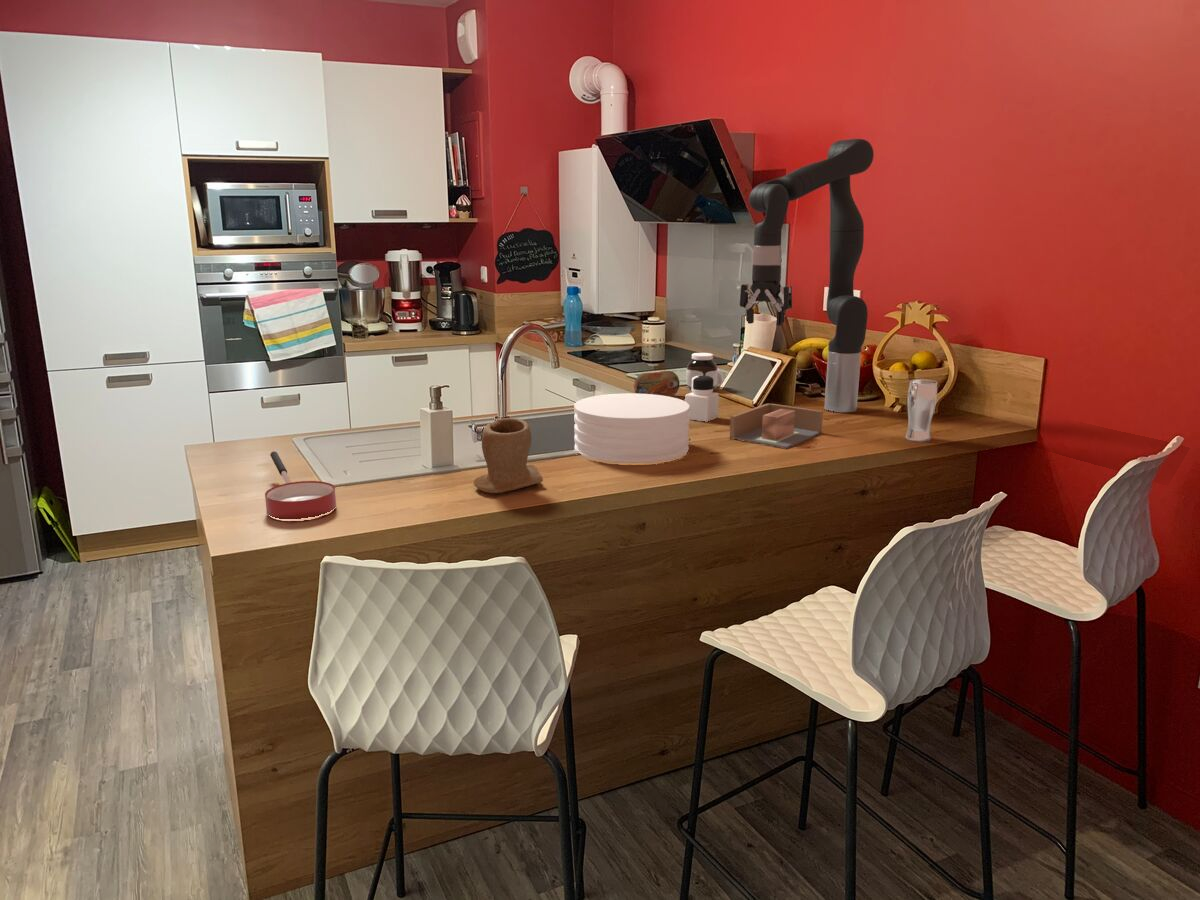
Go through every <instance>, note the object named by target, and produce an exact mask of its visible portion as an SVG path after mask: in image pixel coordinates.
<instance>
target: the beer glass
mask: <svg viewBox="0 0 1200 900" xmlns="http://www.w3.org/2000/svg"><path fill="white" fill-rule="evenodd" d="M908 385H909V386H908V390H907V400H906V401H907V402H906V403H907V406H906V407H907V418H908V419H907V420H908V423H907V424H908V426H907V431H906V434H905V439H906V440H908V441H911V442H923V443H924V442H930V441H931V439H932V437H931V423H932V419H933V416H934V412H935V409H936V404H937V398H938V397H937V396H938V382H937V381H936V380H931V379H926V378H925V379H924V378H917V379H911V380H909V384H908Z"/></svg>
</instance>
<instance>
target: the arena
mask: <svg viewBox="0 0 1200 900" xmlns="http://www.w3.org/2000/svg"><path fill="white" fill-rule="evenodd" d="M779 409H787V410H794V411H795V422H794V433H793V434H791V435H788V436H786V437H784V438H781V439H779V440H777V441H774V440H768V439H762V421H763V415H765V414H768V413H771V412H773V411H776V410H779ZM823 413H824V411H823V410H819V409H818V410H817V409H809V408H805V407H804V408H803V407H799V406H798V407H795V406H790V405H784V404H783V405H782V404H778V403H777V404H776V403H770V402H767V403H764V404H762V405H759V406H756V407H753V408H750V409H747V410H744V411H742V412H738V413H735V414H733V415H730V425H729V439H730V438H734V439H739V440H744V441H743V442H745V441H750V442H755V443H754V444H756V443H760V444H759V445H761V444H765V445H764V446H767V445H772V446H771V447H773V446H778V447H783V448H782V449H784V448H787V449H789V448H791V447H790V446H792V445H794V446H796V445H798V444H800V443H799V442H801V443H803V442H805V441H807V440H810V439H812V438H814V437H816V435H817V436H819V435H821V434H822V433H823V431H822V428H823V415H824V414H823ZM820 433H821V434H820ZM818 434H819V435H818ZM813 436H814V437H813ZM811 437H812V438H811ZM809 438H810V439H809ZM806 439H807V440H806ZM739 440H738V441H739ZM804 440H805V441H804ZM802 441H803V442H802ZM750 442H749V443H750ZM797 443H798V444H797ZM795 444H796V445H795ZM778 447H777V448H778ZM788 447H789V448H788ZM792 447H793V446H792Z"/></svg>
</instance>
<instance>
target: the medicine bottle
mask: <svg viewBox="0 0 1200 900" xmlns="http://www.w3.org/2000/svg"><path fill="white" fill-rule="evenodd" d="M690 390H691V392H689V393H687V394H685V398H684V401H685V402H687V403H688V404H689V405H690V412H689V421H694V420H697V421H696V422H701V421H705V422H704V423H709V422H710V420H711V421H713V420H715V419H717V418H719V399H720V398H719V397H720V395H719V394H720V393H719V392H714V389H713V378H712V377H710V376H695V377H693V378H692V386H691V389H690ZM708 421H709V422H708Z"/></svg>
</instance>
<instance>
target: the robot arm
mask: <svg viewBox="0 0 1200 900" xmlns="http://www.w3.org/2000/svg"><path fill="white" fill-rule="evenodd" d="M826 157H827V158H825V159H824V160H819V161H817V162H812V163H810V164H807V165H804V166H801V167H798V168H797V169H795V170H793V171H791V172H789V173H787V174H785V175H783V176H780V177H776V178H774V179H771V180H768V181H764V182H762V183H759V184H757V185H756V186H755V187H754V188H752V190H751V192H750V194H749V197H748V202H749V205H750V208H752V210H754V211H755V212H758V213H765V216H764V219H763V220H762V221H761V222H758V223H756V224H755V226H754V232H753V233H754V234H753V235H754V236H753V250H752V265H751V266H752V269H751V272H752V273H751V274H752V275H751V277H752V278H751V281H752V283H751V284H749V283H745V284H742V285H741V286H740V293H739V294H740V296H739V297H740V299H739V306H740V307H741V308H744V309H745V311H746V312H745V313H746V314H745V320H746V322H747V324H748V325H749V324H754V323H755V322H754V321H755V319H754V318H755V309H754V307H755V306H756V305H757V304H758V303H759V302H761V303H762V302H764V303H772V305H773V306H774V307H775V308H776V310H777V311H776V321H775V322H776V323H775V324H776V326H778V327H780V326H783V324H784V323H785V313H786V311H787V310H791V309H792V308H793V287H792V286H791V285H787V286H782V285H781V279H782V260H783V259H782V258H783V257H782V228H783V225H784V223H785V219H786V217H787V211H788V208H789V205H790V203H789V202H793V201H796V200H799V199H800V198H802V197H805V196H806V195H808V194H809V193H812V192H813V191H815V190H818V189H820V188H822V187H824V186H826V185H828V189H829V191H828V192H829V211H830V212H829V281H828V282H829V283H828V290H827V300H826V311H825V312H826V316H827V318H828V321H830V323H831V324H832V325H834V326H836V327H835V334H834V336H833V339H831V340H830V341H829V342H828V347H827V348H828V349H827V350H828V351H827V364H826V377H825V380H826V381H825V392H824V393H825V394H824V410H825V411H828V410H829V412H833V411H834V412H833V413H855V412H857V408H858V395H859V382H860V369H861V360H862V359H861V355H862V348H863V344H864V343H865V340H866V333H867V324H868V318H869V317H868V315H869V314H868V313H869V312H868V311H869V310H868V306H867V303H866V301H864V300H863V299H862V298H860V297H859V296H856V295H854V294H855V293H854V281H855V273H856V270H857V266H858V265H859V262H860V259H861V256H862V253H863V249H864V243H865V242H864V240H865V239H864V237H865V235H864V232H865V231H864V230H865V229H864V228H865V227H864V219H863V216H862V214H861V213H860V211H859V208H858V207H857V204H856V202H855V200H854V198H853V195H852V189H851V176H853V175H859V174H862V173H864V172H866V171H868V170H869V168H870V167H871V166H872V164H873V161H874V149H873V146H872V144H871V142H869V141H868V140H866V139H865V138H864V139H862V138H851V139H841V140H837V141H835V142H833V143H832V144H831V145H830V147H829V149H828V152H827V156H826ZM750 292H752V296H751V297H750V299H749V294H750ZM780 294H782V295H783V299H782V297H781V296H780Z"/></svg>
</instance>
